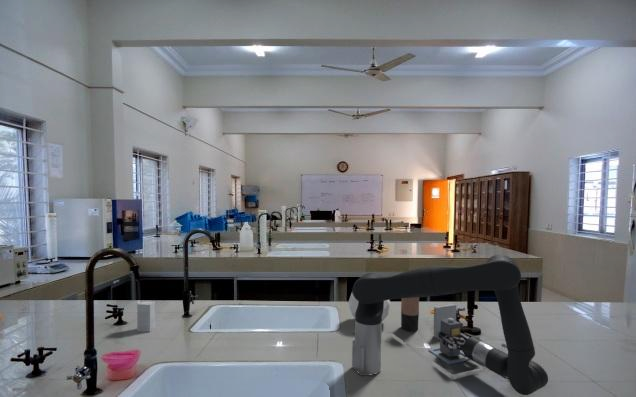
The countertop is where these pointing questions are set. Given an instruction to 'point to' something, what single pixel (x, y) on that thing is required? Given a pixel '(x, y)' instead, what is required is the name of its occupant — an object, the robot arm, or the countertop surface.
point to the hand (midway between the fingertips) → (445, 333)
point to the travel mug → (410, 314)
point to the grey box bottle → (450, 329)
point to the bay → (443, 316)
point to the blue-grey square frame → (446, 359)
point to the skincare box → (146, 316)
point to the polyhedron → (354, 304)
